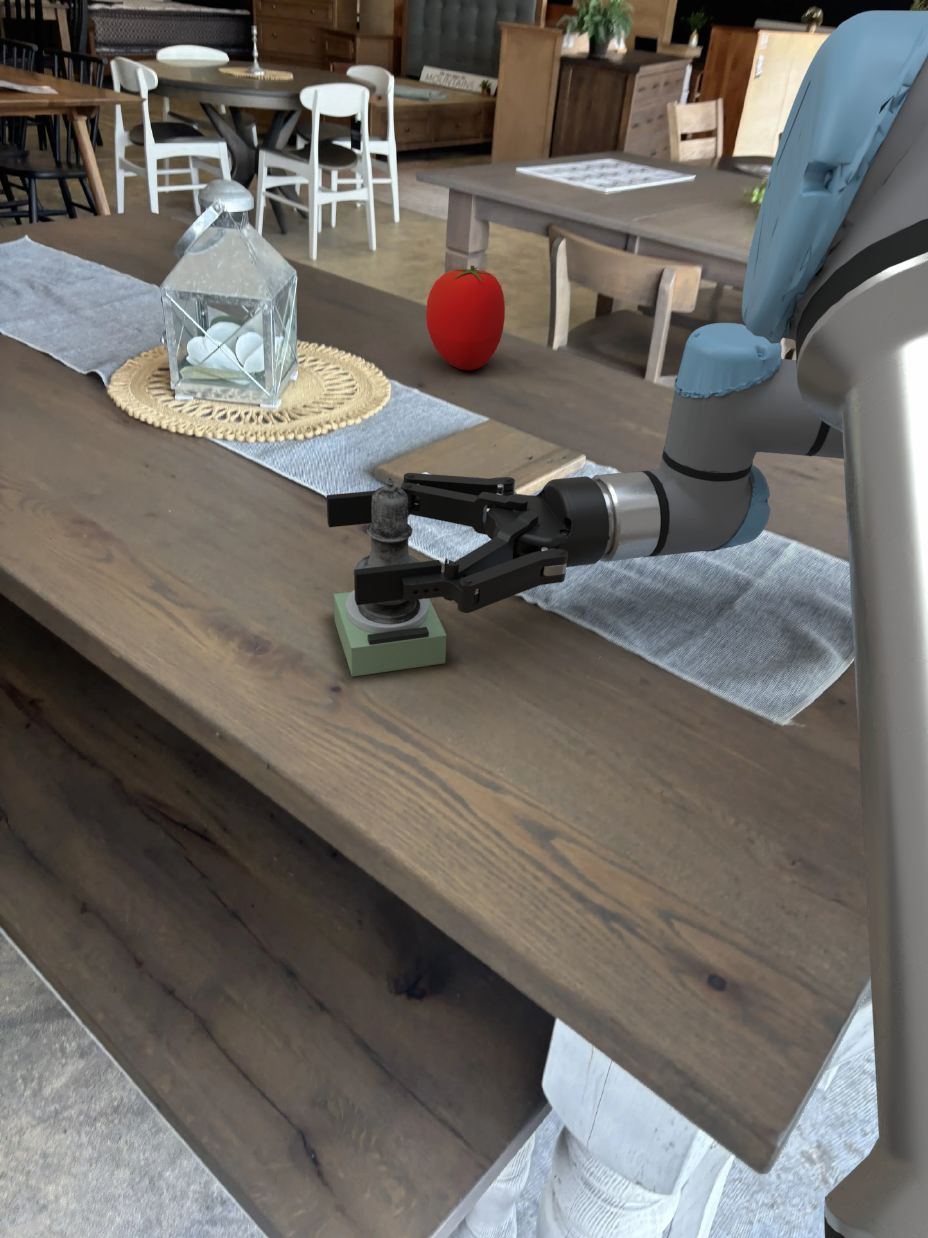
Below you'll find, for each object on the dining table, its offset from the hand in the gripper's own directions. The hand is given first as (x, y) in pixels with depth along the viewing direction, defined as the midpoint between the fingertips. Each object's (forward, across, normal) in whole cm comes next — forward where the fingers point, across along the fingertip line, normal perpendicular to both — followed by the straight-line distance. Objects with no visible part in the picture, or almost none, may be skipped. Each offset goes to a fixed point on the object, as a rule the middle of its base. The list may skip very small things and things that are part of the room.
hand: (340, 547), depth 72 cm
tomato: (-30, +64, -10) cm, 71 cm away
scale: (-4, 0, -10) cm, 11 cm away
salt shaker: (-4, 0, -6) cm, 8 cm away
